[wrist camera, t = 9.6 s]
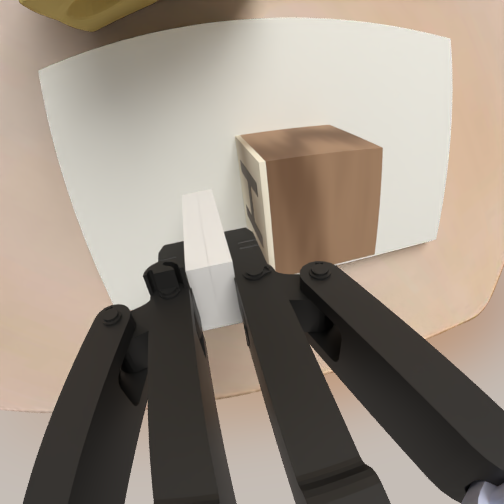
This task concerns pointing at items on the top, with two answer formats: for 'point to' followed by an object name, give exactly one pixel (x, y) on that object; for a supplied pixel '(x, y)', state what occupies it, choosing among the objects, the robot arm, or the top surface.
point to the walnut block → (310, 194)
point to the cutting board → (240, 126)
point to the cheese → (86, 11)
